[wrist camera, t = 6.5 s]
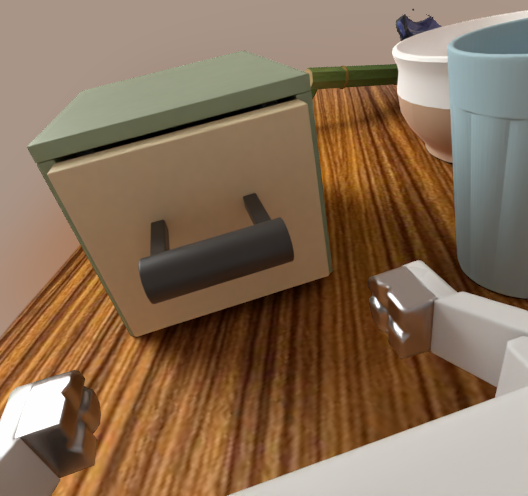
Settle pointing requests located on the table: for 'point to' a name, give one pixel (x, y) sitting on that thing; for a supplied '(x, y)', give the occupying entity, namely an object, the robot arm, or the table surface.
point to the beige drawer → (200, 213)
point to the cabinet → (170, 113)
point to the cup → (491, 154)
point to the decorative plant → (352, 76)
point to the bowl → (433, 80)
